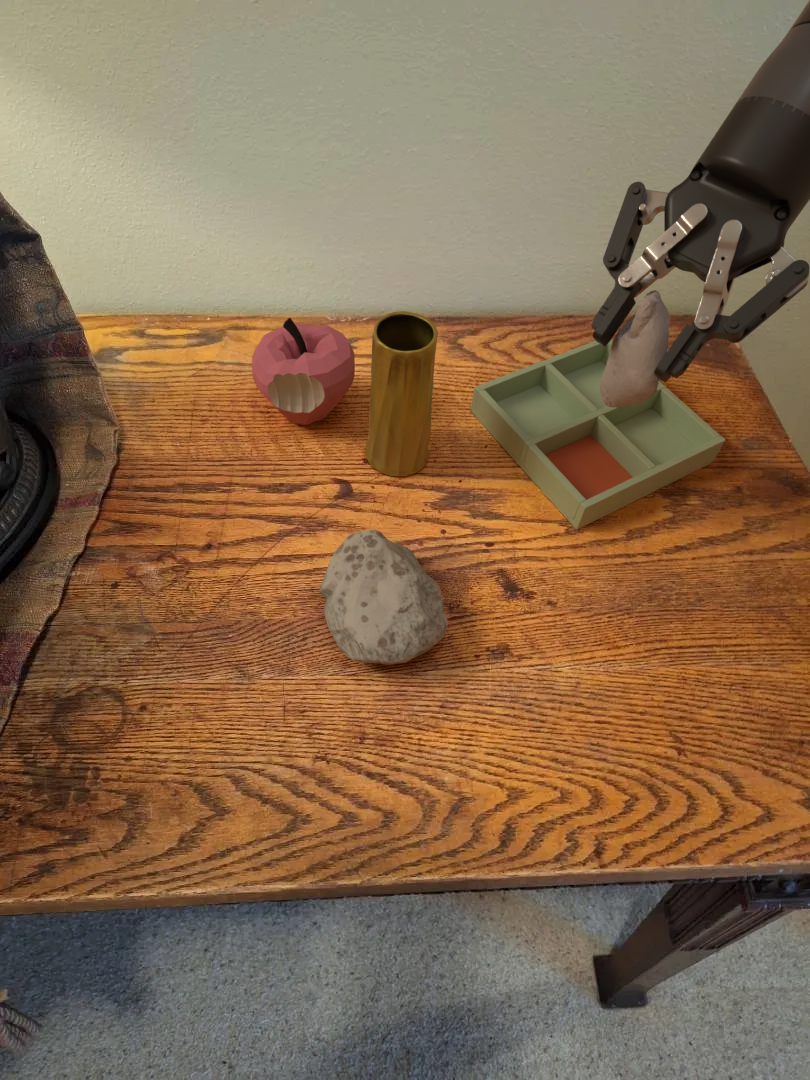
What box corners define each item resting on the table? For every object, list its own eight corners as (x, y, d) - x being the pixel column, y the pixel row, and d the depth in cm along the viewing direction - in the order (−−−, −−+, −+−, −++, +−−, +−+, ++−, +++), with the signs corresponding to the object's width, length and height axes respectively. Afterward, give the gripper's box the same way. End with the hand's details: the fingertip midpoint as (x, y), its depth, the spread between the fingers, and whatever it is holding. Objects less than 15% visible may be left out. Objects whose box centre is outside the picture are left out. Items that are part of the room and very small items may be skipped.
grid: (712, 462, 71) (726, 439, 68) (576, 530, 65) (585, 508, 62) (599, 359, 79) (608, 335, 76) (470, 410, 73) (474, 386, 71)
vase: (371, 481, 67) (374, 359, 55) (360, 433, 70) (361, 310, 59) (435, 474, 68) (451, 352, 56) (421, 427, 71) (434, 304, 60)
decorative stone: (478, 615, 59) (487, 582, 55) (385, 703, 54) (387, 674, 50) (373, 528, 64) (374, 492, 60) (278, 602, 59) (272, 568, 55)
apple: (248, 436, 69) (234, 353, 61) (271, 376, 75) (260, 292, 66) (346, 450, 69) (345, 369, 61) (363, 389, 74) (363, 306, 66)
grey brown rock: (647, 433, 56) (688, 326, 48) (602, 433, 56) (635, 326, 48) (633, 381, 59) (670, 273, 51) (590, 381, 59) (620, 273, 51)
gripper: (686, 58, 46) (533, 297, 51) (904, 142, 41) (712, 401, 46) (697, 119, 53) (562, 326, 58) (886, 199, 48) (720, 420, 52)
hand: (629, 358), depth 52 cm, fingers closed on grey brown rock, 4 cm apart
